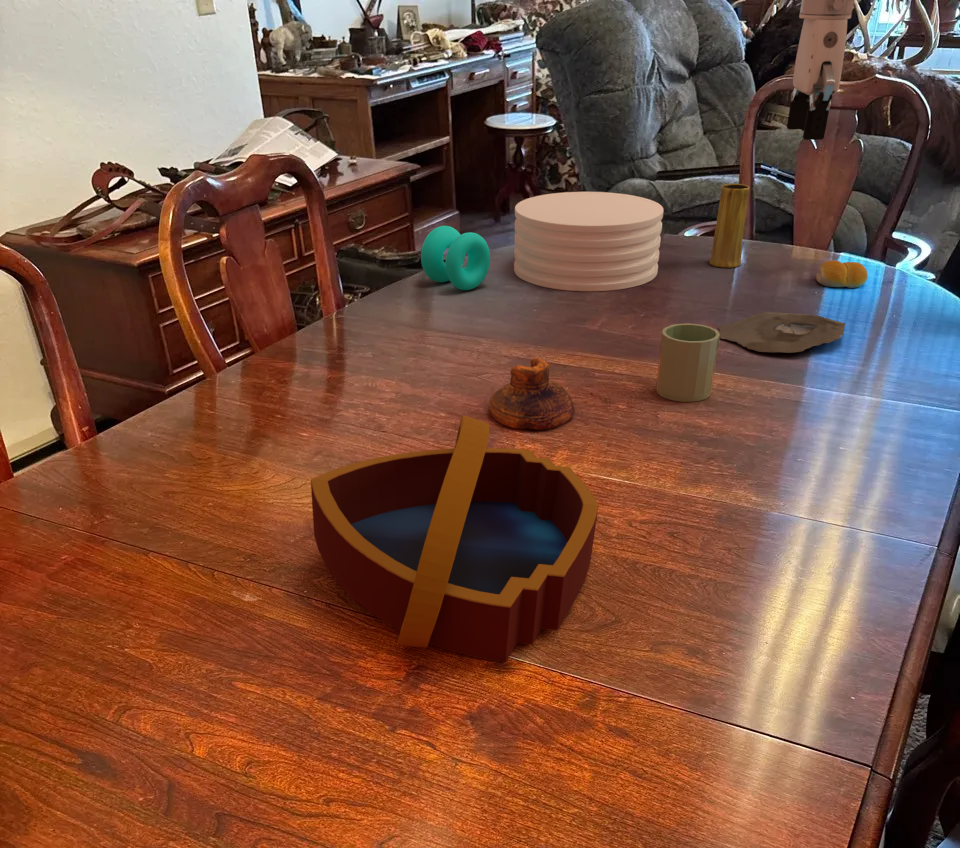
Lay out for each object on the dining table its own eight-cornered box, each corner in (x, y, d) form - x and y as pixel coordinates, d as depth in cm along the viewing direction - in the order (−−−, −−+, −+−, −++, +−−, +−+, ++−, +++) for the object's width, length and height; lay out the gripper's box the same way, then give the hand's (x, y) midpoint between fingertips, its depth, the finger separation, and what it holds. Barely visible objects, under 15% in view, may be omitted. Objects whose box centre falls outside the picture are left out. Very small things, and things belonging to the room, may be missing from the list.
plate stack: (486, 276, 184) (486, 212, 178) (560, 244, 203) (563, 186, 196) (614, 300, 171) (619, 233, 165) (681, 264, 190) (688, 202, 183)
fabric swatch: (699, 338, 159) (699, 329, 158) (799, 307, 166) (800, 298, 165) (777, 368, 145) (778, 358, 144) (883, 333, 153) (884, 323, 152)
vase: (733, 270, 186) (745, 191, 178) (704, 265, 189) (714, 187, 181) (745, 262, 190) (756, 185, 182) (716, 258, 193) (726, 181, 185)
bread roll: (870, 289, 175) (875, 266, 173) (821, 288, 176) (825, 266, 174) (859, 276, 182) (863, 254, 180) (811, 276, 183) (815, 254, 180)
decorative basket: (564, 702, 85) (601, 561, 76) (252, 632, 87) (252, 486, 78) (593, 522, 112) (623, 403, 103) (355, 471, 114) (363, 349, 105)
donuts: (458, 274, 185) (457, 220, 179) (493, 285, 179) (493, 229, 173) (418, 285, 180) (416, 229, 174) (453, 296, 174) (452, 239, 168)
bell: (512, 438, 125) (513, 384, 121) (475, 405, 134) (474, 354, 129) (590, 422, 129) (593, 370, 124) (549, 391, 137) (551, 341, 133)
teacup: (706, 381, 140) (714, 323, 135) (715, 402, 134) (724, 342, 129) (653, 381, 140) (658, 323, 135) (659, 402, 134) (666, 342, 129)
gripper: (870, 10, 136) (844, 143, 146) (834, 3, 150) (812, 125, 160) (818, 10, 136) (795, 143, 146) (786, 3, 150) (768, 125, 160)
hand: (804, 134), depth 153 cm, fingers open, 9 cm apart
